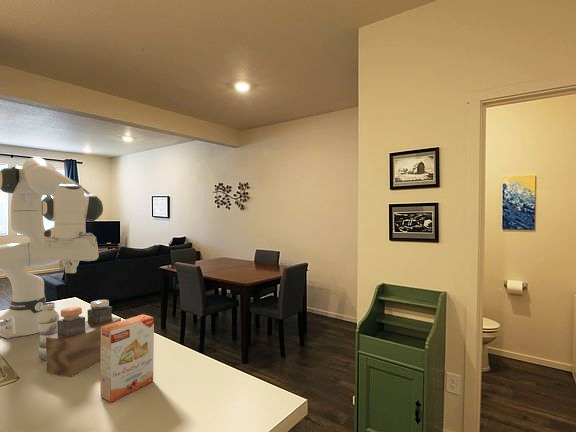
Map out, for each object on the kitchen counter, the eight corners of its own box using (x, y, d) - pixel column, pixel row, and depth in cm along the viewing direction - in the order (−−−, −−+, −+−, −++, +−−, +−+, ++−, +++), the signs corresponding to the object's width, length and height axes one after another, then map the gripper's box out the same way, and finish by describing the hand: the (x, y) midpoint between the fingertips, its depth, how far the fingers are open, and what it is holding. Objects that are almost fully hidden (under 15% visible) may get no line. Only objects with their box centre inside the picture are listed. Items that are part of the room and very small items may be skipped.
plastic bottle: (49, 363, 116) (48, 307, 115) (33, 361, 117) (32, 305, 117) (65, 355, 122) (64, 301, 122) (49, 353, 124) (48, 300, 123)
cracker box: (111, 404, 92) (110, 330, 92) (99, 397, 96) (98, 326, 95) (155, 381, 104) (154, 316, 104) (143, 376, 108) (142, 313, 107)
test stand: (46, 373, 109) (45, 322, 109) (100, 345, 131) (99, 303, 130) (70, 377, 107) (70, 325, 106) (121, 348, 128) (120, 305, 128)
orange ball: (56, 330, 110) (56, 311, 110) (72, 324, 116) (72, 306, 116) (70, 332, 109) (70, 313, 109) (86, 325, 115) (85, 307, 114)
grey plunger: (86, 320, 122) (86, 303, 122) (99, 315, 128) (99, 299, 128) (100, 322, 120) (99, 304, 120) (112, 317, 126) (112, 300, 126)
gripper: (103, 232, 112) (103, 272, 112) (55, 230, 117) (56, 269, 118) (87, 233, 106) (88, 276, 106) (38, 231, 111) (38, 272, 111)
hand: (70, 272), depth 112 cm, fingers closed
